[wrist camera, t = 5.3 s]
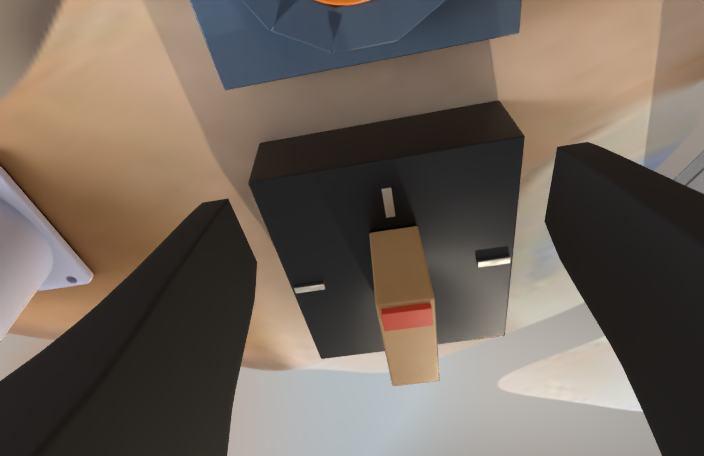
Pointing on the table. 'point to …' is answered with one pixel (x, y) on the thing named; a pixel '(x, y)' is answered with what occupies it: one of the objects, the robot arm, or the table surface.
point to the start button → (342, 2)
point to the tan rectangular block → (405, 305)
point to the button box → (338, 33)
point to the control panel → (396, 218)
